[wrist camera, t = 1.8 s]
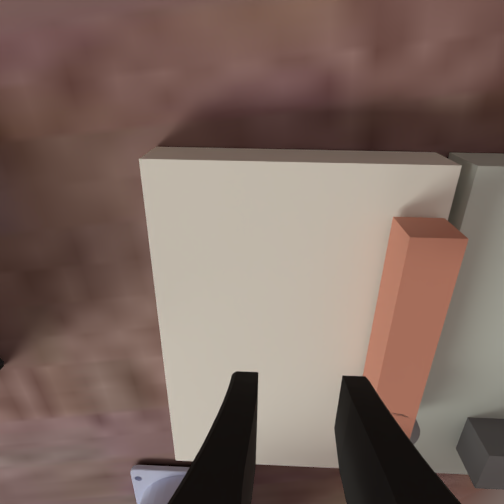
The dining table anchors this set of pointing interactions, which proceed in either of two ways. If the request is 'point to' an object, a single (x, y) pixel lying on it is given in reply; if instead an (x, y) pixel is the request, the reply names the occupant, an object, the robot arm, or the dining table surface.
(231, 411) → the robot arm
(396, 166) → the pale square platform
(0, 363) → the ammunition clip
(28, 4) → the dining table surface
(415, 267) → the bar
